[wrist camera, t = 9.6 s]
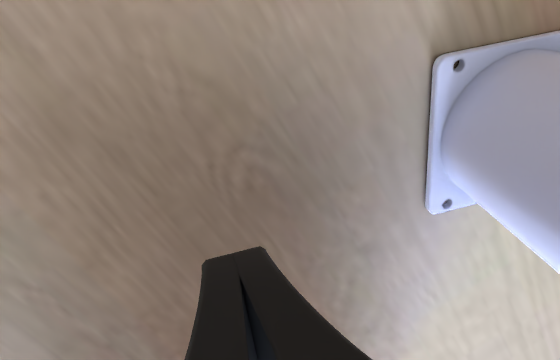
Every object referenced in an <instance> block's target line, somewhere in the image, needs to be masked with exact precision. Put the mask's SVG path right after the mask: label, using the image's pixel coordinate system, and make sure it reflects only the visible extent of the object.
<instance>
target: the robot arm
mask: <svg viewBox="0 0 560 360" xmlns="http://www.w3.org/2000/svg"><path fill="white" fill-rule="evenodd" d="M457 60H459V65H458V66H457V67H456V68H455V69H453V66H454V63H455V62H456V61H457ZM445 200H447V201H446V202H445V203H444V204H443V202H444V201H445ZM477 203H478V204H479V205H480V206H481V207H482V208H484V209H485V210H486V211H487V212H488V213H489V214H491V215H492V216H493V217H494V218H495V219H496V220H498V221H499V222H500V223H501V224H502V225H503V226H504V227H506V228H507V229H508V230H509V231H510V232H511V233H513V234H514V235H515V236H516V237H517V238H518V239H520V240H521V241H522V242H523V243H524V244H525V245H527V246H528V247H529V248H530V249H531V250H532V251H533V252H535V253H536V254H537V255H538V256H539V257H540V258H542V259H543V260H544V261H545V262H546V263H547V264H549V265H550V266H551V267H552V268H553V269H554V270H555V271H557V272H558V273H559V274H560V30H559V31H554V32H549V33H544V34H540V35H535V36H530V37H525V38H520V39H515V40H510V41H505V42H500V43H495V44H491V45H486V46H481V47H476V48H471V49H466V50H461V51H456V52H451V53H447V54H443V55H441V56H439V57H438V58H437V59H436V60H435V62H434V64H433V71H432V89H431V107H430V126H429V144H428V162H427V180H426V198H425V207H426V209H427V210H428V211H429V212H430V213H431V214H439V213H443V212H446V211H450V210H454V209H458V208H462V207H466V206H469V205H473V204H477ZM185 360H372V359H371V358H370V357H368V356H367V355H366V354H364V353H363V352H362V351H361V350H359V349H358V348H357V347H356V346H355V345H353V344H352V343H351V342H350V341H349V340H348V339H346V338H345V337H344V336H343V335H342V334H341V333H340V332H339V331H338V330H336V329H335V328H334V327H333V326H332V325H331V324H330V323H329V322H328V321H327V320H326V319H325V318H323V317H322V316H321V315H320V314H319V313H318V312H317V311H316V310H315V309H314V308H313V307H312V306H311V304H310V303H309V302H308V301H307V300H306V299H305V298H304V297H303V296H302V295H301V294H300V293H299V292H298V291H297V290H296V289H295V287H294V286H293V285H292V284H291V283H290V282H289V281H288V279H287V278H286V277H285V276H284V275H283V273H282V272H281V271H280V270H279V268H278V267H277V266H276V264H275V263H274V262H273V260H272V259H271V257H270V256H269V255H268V253H267V251H266V250H265V249H264V248H262V247H260V246H259V247H255V248H251V249H247V250H243V251H239V252H235V253H231V254H227V255H224V256H220V257H216V258H212V259H208V260H205V262H204V263H203V264H202V278H201V289H200V296H199V301H198V307H197V312H196V317H195V321H194V326H193V330H192V334H191V339H190V342H189V346H188V350H187V353H186V356H185Z"/></svg>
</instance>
